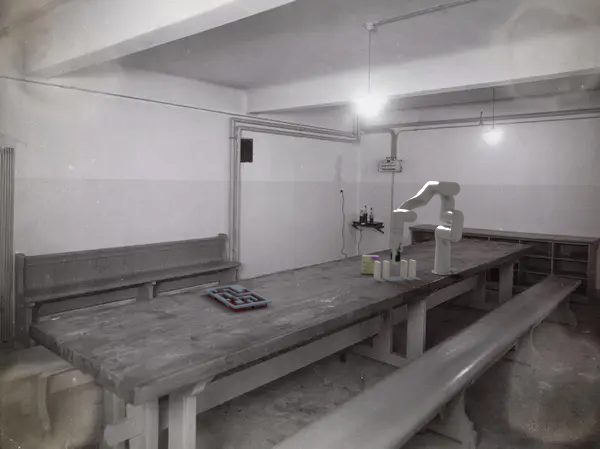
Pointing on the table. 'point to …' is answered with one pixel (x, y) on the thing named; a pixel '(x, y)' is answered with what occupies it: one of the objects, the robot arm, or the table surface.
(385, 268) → the domino
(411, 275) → the domino
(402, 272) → the domino
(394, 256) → the domino
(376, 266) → the domino
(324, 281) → the table surface
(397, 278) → the mat
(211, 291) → the maze game
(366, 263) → the box
